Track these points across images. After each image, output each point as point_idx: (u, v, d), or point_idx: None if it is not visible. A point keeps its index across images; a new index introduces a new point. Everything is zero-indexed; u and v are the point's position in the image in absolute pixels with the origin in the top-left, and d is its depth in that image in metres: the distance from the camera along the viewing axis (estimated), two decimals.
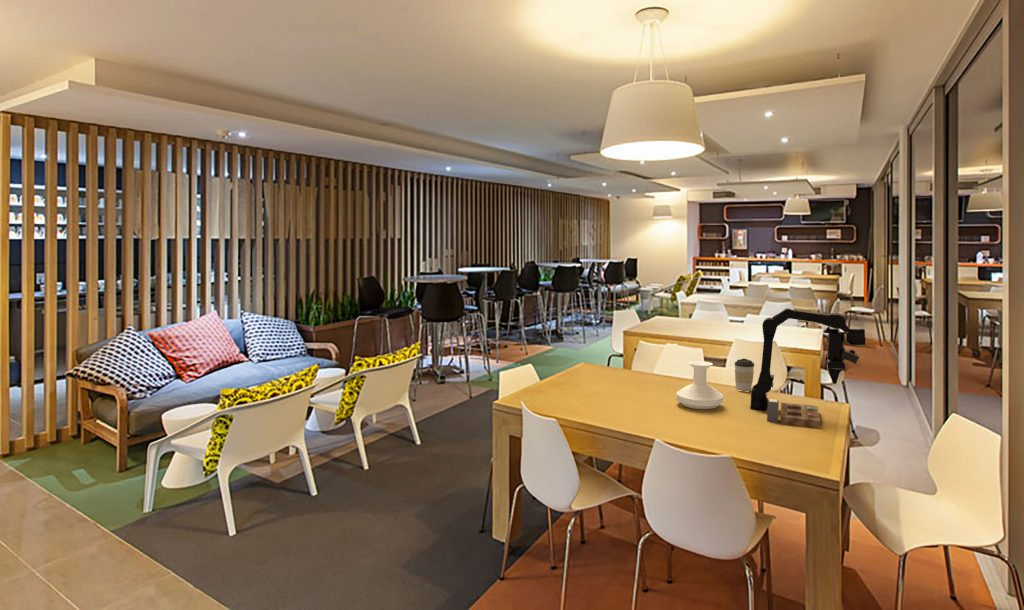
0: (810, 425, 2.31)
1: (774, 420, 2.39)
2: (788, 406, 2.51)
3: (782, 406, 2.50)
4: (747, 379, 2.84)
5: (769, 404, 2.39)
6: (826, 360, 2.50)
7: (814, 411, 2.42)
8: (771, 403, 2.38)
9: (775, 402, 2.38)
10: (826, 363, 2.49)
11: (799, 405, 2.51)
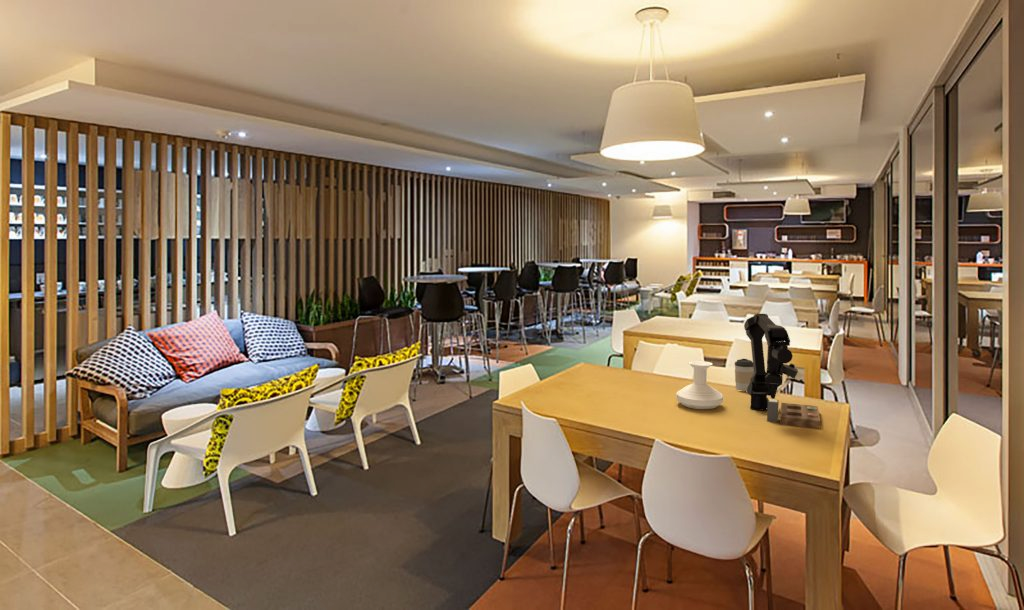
0: (810, 425, 2.31)
1: (774, 420, 2.39)
2: (788, 406, 2.51)
3: (782, 406, 2.50)
4: (747, 379, 2.84)
5: (769, 404, 2.39)
6: (767, 374, 2.46)
7: (814, 411, 2.42)
8: (771, 403, 2.38)
9: (775, 402, 2.38)
10: None
11: (799, 405, 2.51)
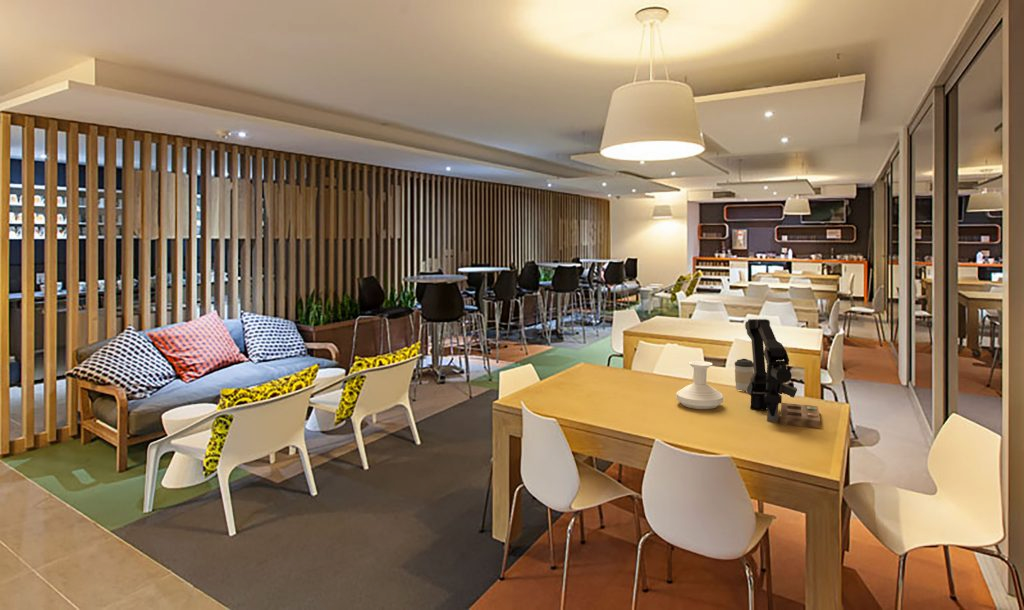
0: (810, 425, 2.31)
1: (774, 420, 2.39)
2: (788, 406, 2.51)
3: (782, 406, 2.50)
4: (747, 379, 2.84)
5: None
6: None
7: (814, 411, 2.42)
8: None
9: None
10: None
11: (799, 405, 2.51)
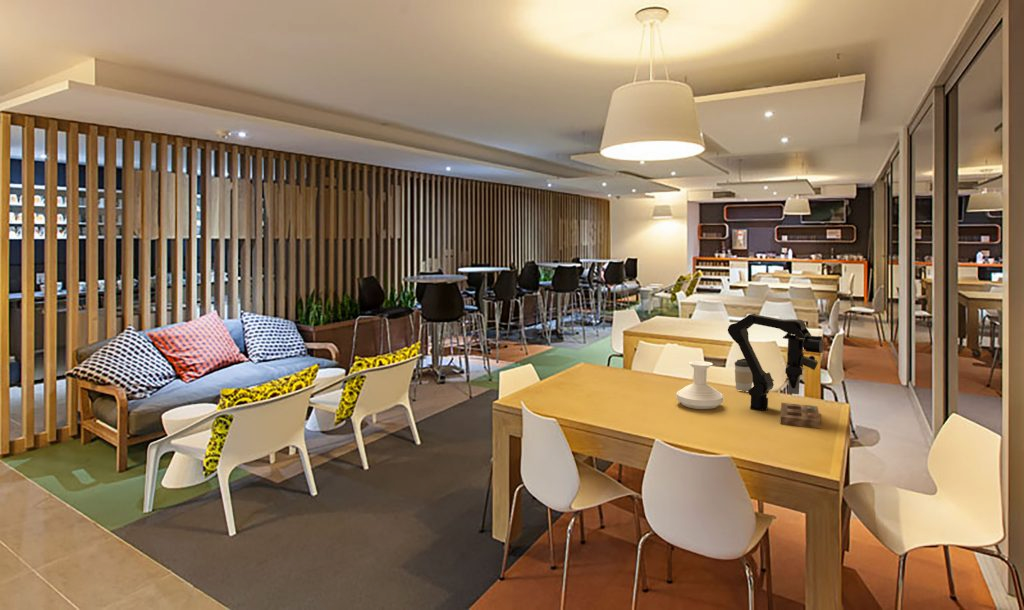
0: (810, 425, 2.31)
1: (795, 392, 2.44)
2: (788, 406, 2.51)
3: (782, 406, 2.50)
4: (747, 379, 2.84)
5: None
6: (787, 366, 2.52)
7: (814, 411, 2.42)
8: None
9: None
10: None
11: (799, 405, 2.51)
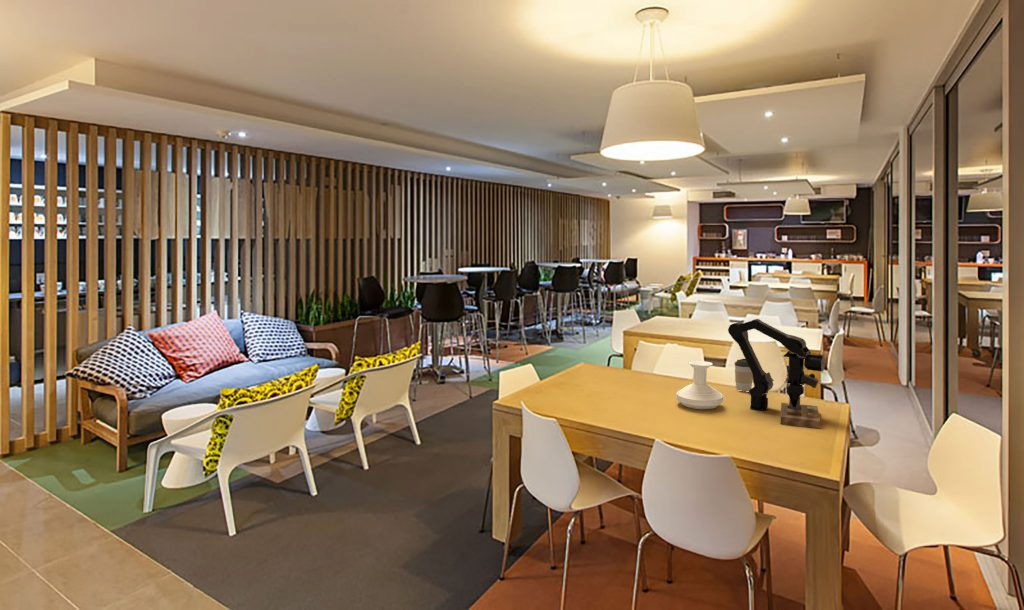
0: (810, 425, 2.31)
1: None
2: (788, 406, 2.51)
3: (782, 406, 2.50)
4: (747, 379, 2.84)
5: None
6: (788, 383, 2.54)
7: (814, 411, 2.42)
8: None
9: None
10: None
11: None
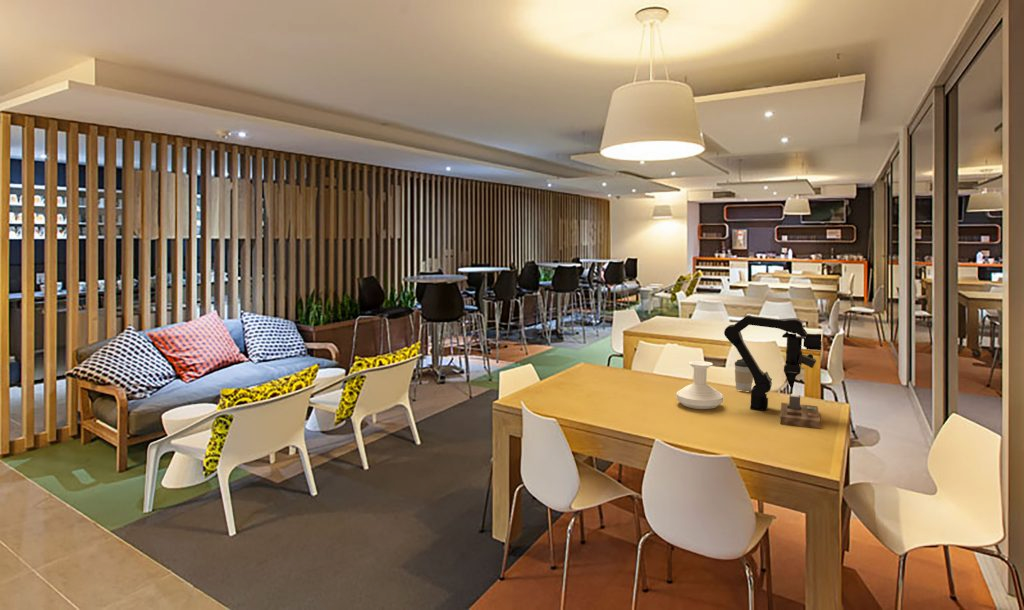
0: (810, 425, 2.31)
1: None
2: (788, 406, 2.51)
3: (782, 406, 2.50)
4: (747, 379, 2.84)
5: (791, 399, 2.46)
6: (786, 364, 2.56)
7: (814, 411, 2.42)
8: (793, 398, 2.46)
9: (797, 397, 2.46)
10: None
11: None
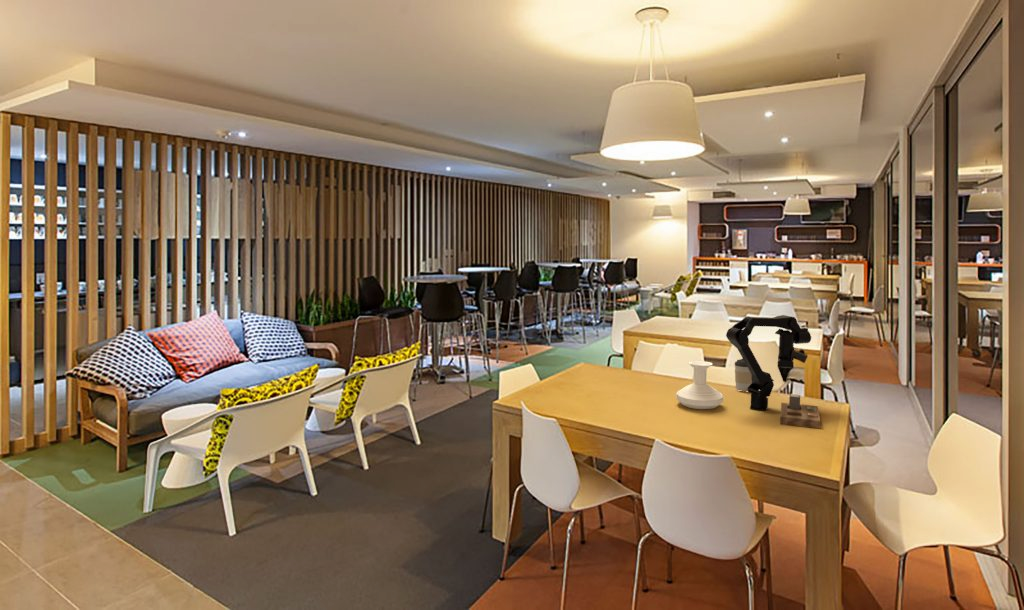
0: (810, 425, 2.31)
1: None
2: (788, 406, 2.51)
3: (782, 406, 2.50)
4: (747, 379, 2.84)
5: (791, 399, 2.46)
6: (778, 359, 2.65)
7: (814, 411, 2.42)
8: (793, 398, 2.46)
9: (797, 397, 2.46)
10: None
11: None
